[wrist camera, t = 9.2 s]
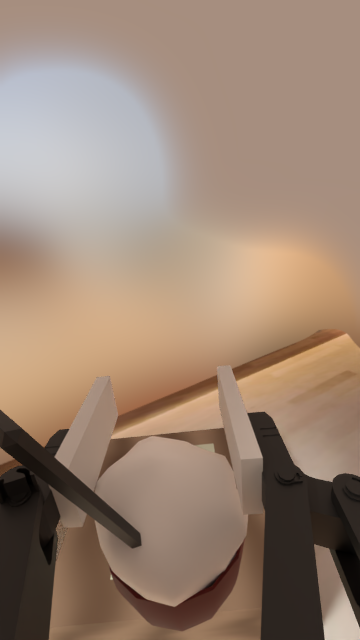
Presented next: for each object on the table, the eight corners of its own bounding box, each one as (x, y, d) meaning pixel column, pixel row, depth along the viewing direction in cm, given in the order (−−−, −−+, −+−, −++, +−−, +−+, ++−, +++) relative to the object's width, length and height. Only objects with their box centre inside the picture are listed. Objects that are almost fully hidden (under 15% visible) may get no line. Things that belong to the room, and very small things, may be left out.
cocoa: (212, 484, 18) (201, 305, 15) (294, 579, 13) (305, 334, 9) (57, 577, 14) (-9, 352, 10) (84, 779, 8) (-33, 456, 5)
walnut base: (51, 666, 21) (32, 628, 20) (104, 469, 38) (97, 440, 37) (311, 642, 21) (314, 602, 19) (249, 455, 38) (248, 425, 36)
